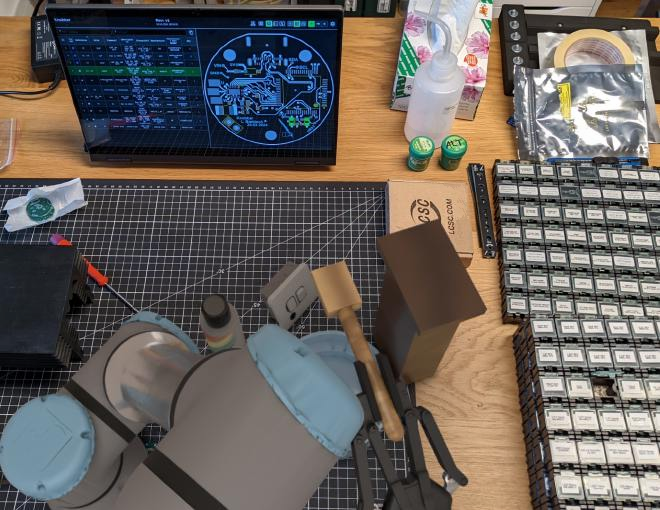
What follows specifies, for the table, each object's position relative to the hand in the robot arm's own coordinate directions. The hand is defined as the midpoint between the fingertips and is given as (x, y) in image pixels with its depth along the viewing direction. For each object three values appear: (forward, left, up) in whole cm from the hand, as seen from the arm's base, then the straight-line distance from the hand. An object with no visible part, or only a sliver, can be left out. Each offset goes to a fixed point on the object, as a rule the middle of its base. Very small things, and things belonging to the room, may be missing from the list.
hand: (370, 359), depth 69 cm
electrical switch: (-3, +24, -33) cm, 41 cm away
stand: (+12, +9, -33) cm, 36 cm away
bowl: (-2, +6, -33) cm, 34 cm away
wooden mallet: (0, +2, -4) cm, 4 cm away
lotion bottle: (-15, +19, -33) cm, 41 cm away
